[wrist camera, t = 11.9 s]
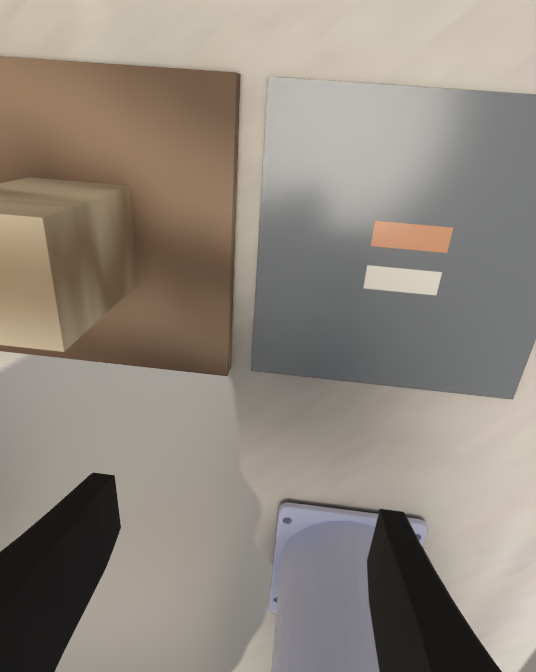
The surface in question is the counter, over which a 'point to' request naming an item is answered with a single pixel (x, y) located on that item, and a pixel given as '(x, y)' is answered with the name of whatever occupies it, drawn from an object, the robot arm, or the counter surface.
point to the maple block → (61, 259)
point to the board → (141, 194)
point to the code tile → (397, 236)
